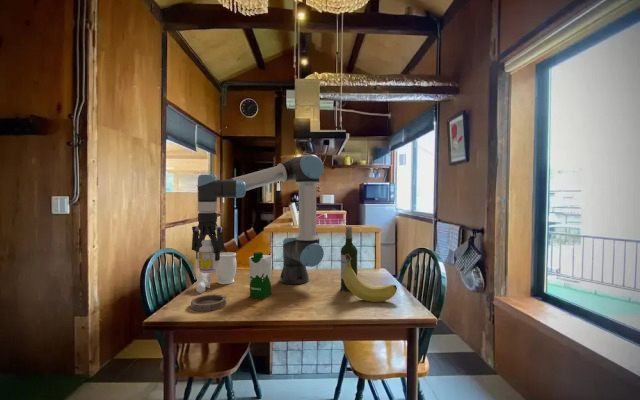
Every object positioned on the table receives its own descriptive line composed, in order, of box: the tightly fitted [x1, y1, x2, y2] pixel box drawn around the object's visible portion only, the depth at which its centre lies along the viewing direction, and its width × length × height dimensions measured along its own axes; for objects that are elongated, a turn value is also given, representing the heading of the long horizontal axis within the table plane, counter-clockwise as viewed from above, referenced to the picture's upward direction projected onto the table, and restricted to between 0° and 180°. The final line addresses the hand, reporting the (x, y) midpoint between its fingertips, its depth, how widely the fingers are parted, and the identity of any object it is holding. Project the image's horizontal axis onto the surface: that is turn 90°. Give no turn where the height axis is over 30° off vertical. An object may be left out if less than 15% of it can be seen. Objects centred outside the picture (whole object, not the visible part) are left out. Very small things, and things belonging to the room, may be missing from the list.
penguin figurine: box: [195, 271, 212, 294], centre depth 154 cm, size 6×8×12 cm
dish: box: [190, 293, 227, 312], centre depth 133 cm, size 14×14×2 cm
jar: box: [215, 251, 237, 285], centre depth 168 cm, size 11×10×15 cm
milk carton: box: [248, 251, 273, 300], centre depth 145 cm, size 9×9×20 cm
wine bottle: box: [340, 226, 358, 293], centre depth 154 cm, size 8×8×30 cm
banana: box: [343, 254, 398, 303], centre depth 137 cm, size 23×6×20 cm, turn 82°
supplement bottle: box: [198, 239, 216, 274], centre depth 133 cm, size 7×7×13 cm
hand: (207, 267), depth 133 cm, fingers closed on supplement bottle, 7 cm apart
